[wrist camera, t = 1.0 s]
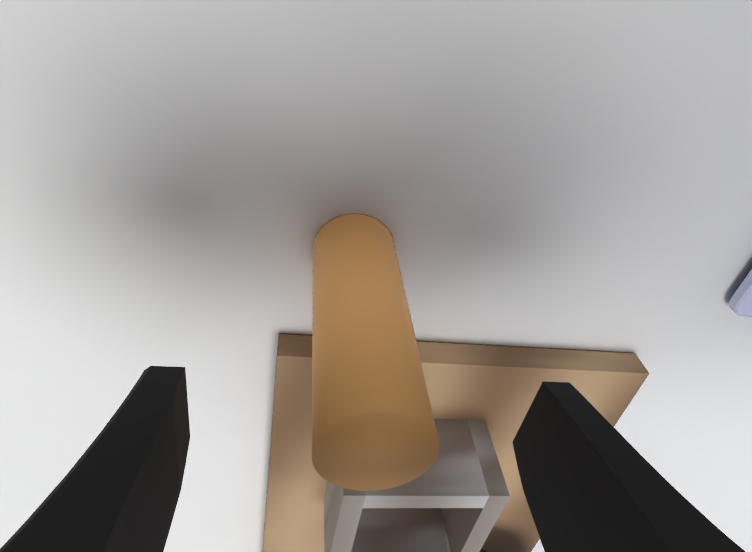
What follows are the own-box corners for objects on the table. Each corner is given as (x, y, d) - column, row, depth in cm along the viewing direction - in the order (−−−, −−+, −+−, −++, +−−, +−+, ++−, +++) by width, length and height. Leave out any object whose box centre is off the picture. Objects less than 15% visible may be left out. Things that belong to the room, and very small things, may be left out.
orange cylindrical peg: (401, 217, 15) (452, 414, 9) (386, 284, 16) (424, 491, 11) (316, 209, 14) (318, 410, 9) (309, 278, 16) (306, 490, 10)
